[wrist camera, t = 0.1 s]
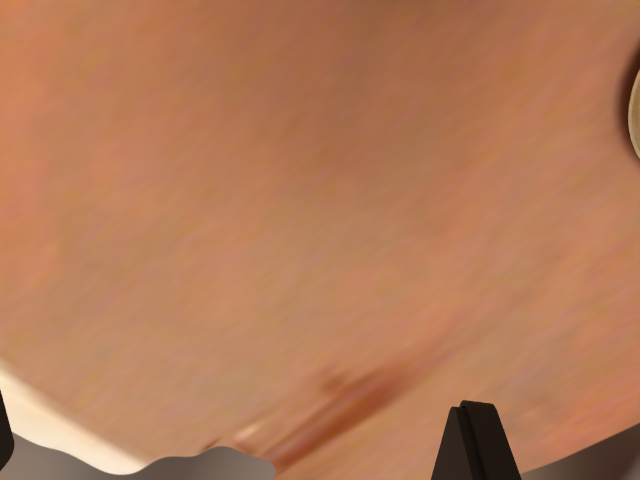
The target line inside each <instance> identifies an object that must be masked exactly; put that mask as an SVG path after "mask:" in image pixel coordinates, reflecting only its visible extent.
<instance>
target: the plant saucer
mask: <svg viewBox="0 0 640 480" xmlns="http://www.w3.org/2000/svg"><path fill="white" fill-rule="evenodd" d="M628 126H629V133H630V138H631V141H632V144H633V147H634V149H635V151H636V153H637V155H638V157H639V158H640V69H639V72H638V74H637V76H636V79H635V82H634V85H633V88H632V92H631V97H630V102H629V110H628Z"/></svg>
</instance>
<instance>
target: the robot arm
mask: <svg viewBox="0 0 640 480" xmlns="http://www.w3.org/2000/svg"><path fill="white" fill-rule="evenodd" d="M13 450H14V439H13V436H12V432H11V428H10V424H9V420H8V417H7V413H6V409H5V405H4V402H3V398H2V394H1V391H0V471H1V470H2V468H3V467H4V466H5V465H6V463H7V462H8V461H9V459H10V458H11V455H12V453H13ZM431 480H521V477H520V474H519V471H518V468H517V466H516V463H515V460H514V457H513V454H512V452H511V449H510V446H509V443H508V440H507V438H506V435H505V432H504V429H503V426H502V424H501V421H500V418H499V415H498V412H497V410H496V408H495V406H494V405H493V404H490V403H482V402H474V401H466V400H463V401H462V402H461V404H460V406H459V407H451V409H450V412H449V415H448V419H447V423H446V426H445V430H444V434H443V437H442V441H441V444H440V448H439V452H438V455H437V459H436V463H435V466H434V470H433V474H432V477H431Z"/></svg>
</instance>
